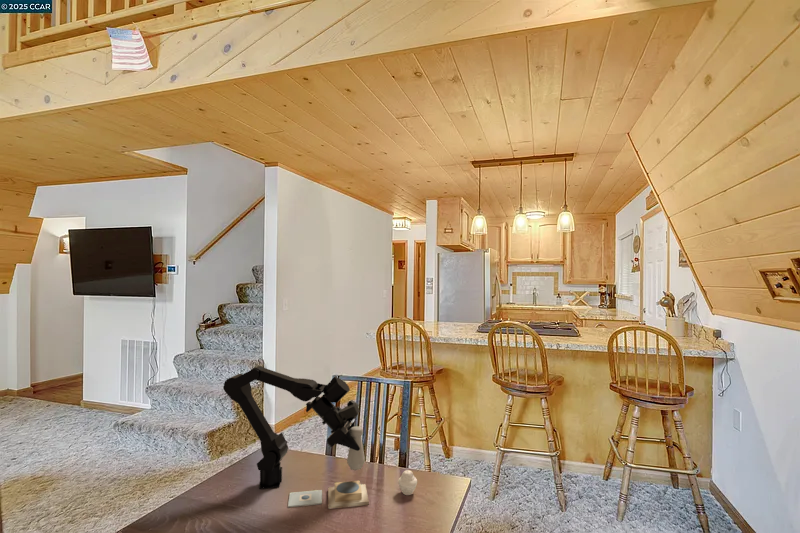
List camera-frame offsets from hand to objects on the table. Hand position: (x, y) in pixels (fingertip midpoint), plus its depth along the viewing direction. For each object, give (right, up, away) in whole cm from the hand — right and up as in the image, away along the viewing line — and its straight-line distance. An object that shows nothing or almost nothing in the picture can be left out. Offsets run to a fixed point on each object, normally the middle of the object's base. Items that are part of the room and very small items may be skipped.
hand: (360, 447), depth 137 cm
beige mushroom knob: (-1, -7, 0) cm, 7 cm away
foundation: (-3, -13, -6) cm, 15 cm away
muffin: (+16, -13, -3) cm, 21 cm away
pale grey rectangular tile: (-16, -13, -7) cm, 22 cm away
